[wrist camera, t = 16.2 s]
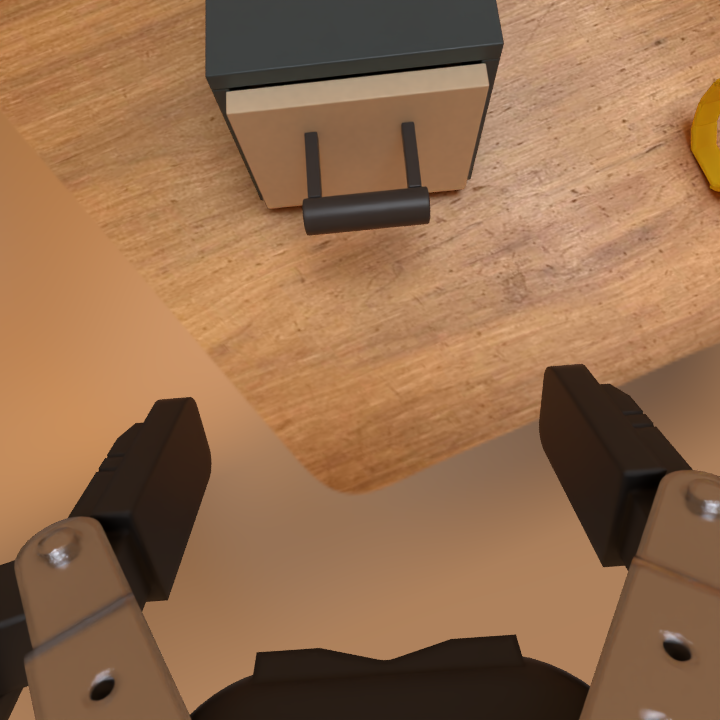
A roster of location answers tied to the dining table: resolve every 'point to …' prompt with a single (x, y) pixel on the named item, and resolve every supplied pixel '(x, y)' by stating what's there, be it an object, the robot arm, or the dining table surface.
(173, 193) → the dining table surface
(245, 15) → the cabinet
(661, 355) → the dining table surface
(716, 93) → the watch
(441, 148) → the drawer
